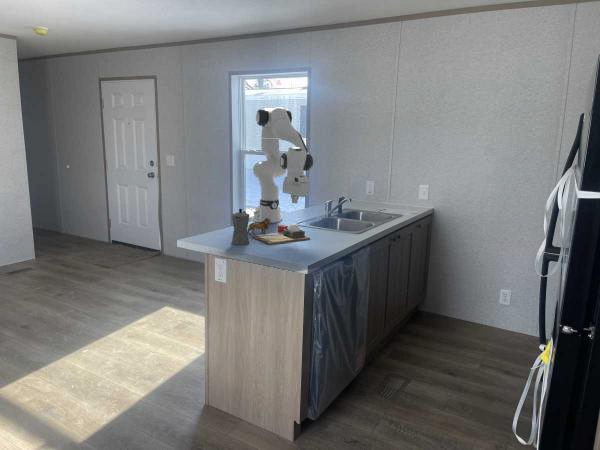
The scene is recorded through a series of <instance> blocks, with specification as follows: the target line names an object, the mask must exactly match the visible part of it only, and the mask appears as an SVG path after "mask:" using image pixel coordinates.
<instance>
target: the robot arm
mask: <svg viewBox="0 0 600 450" xmlns="http://www.w3.org/2000/svg"><path fill="white" fill-rule="evenodd" d="M292 120H293V116H292V112H291V111H290V110H289V109H286V108H283V107H278V106H277V107H275V108H259V109H258V110H257V111H256V115H255V121H256V124H257V125H258V126H260V127H261V137H260V139H261V141H260V142H261V149H260V150H261V152H262V153H263V154H264V155H265V157H266V160H261V161H258V162H256V163H255V164H253V168H252V173H253V175H254V176H255V177H256V178H257V179H258V180H257V181H259V184H260V197H261V199H259V205H258V206H257V207H256V208H255V209H254V211H253V216H250V219H251V220H253V222H255V223H261V222H262V221H264V219H266V218H269V219H270V221H271V223H273V224H275V223H281V221H282V220H283V218H281V216H282V215H281V208H280V207H279V205H280V200H279V186H278V185H277V184H276V183H275V181H274V179H275V178H276V179H277V178H280V177H282V176H285V175H286V176H285V177H284V179H283V182H282V183H283V184H282V190H281V191H282V193H283V194H287V195H290V198H291V204H298V202H299V201H298V200H299V198H300V197H301V198H307V197H308V196H309V191H310V190H309V189H310V187H309V182H310V179H309V177H308V176H306V175H305V174H304V173H305V172H308V171H309V170H311V168H312V167H313V165H314V158H313V156H312V155H311V153H310V151H309V150H308V148H307V146H306V143H305V142H304V139H303V137H302V135H301V133H300V132H299V131H298V130H296V129H295V127H294V126H293V125H292ZM280 140H281V141H284V142H288V143H291V144H293V145H294V146H291V147H289V148H288V150H287V152H284V153H282V154H281V153H280ZM271 223H270V224H271Z"/></svg>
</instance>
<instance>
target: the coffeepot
mask: <svg viewBox="0 0 600 450" xmlns="http://www.w3.org/2000/svg"><path fill="white" fill-rule="evenodd" d="M231 218H232V226H233V232H232V233H233V234H232V237H231V238H232V240H231V243H232V245H234V244H235V245H234V246H246V244H247V245H249V244H250V240H249V234H248V227H249V221H250V214H249V213H247V212H246V211H245V210H243V209H242V208H239V209H238V212H235V213H234V212H233V213H231Z"/></svg>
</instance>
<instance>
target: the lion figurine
mask: <svg viewBox="0 0 600 450" xmlns="http://www.w3.org/2000/svg"><path fill="white" fill-rule="evenodd" d="M270 226H271V221H270V219H269V218H266V219H264V221H262V222H251V223H250V224H248V227H247V232H248V235H251V233H252V236H254V235H257V234H255V229H256V230H261V235H262V234H266V230H267V229H269V227H270ZM250 231H251V233H250Z"/></svg>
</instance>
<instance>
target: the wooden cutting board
mask: <svg viewBox="0 0 600 450" xmlns="http://www.w3.org/2000/svg"><path fill="white" fill-rule="evenodd" d="M250 238H251V239H254V240H256V241H258V242H260V243H263V244H266V245H268V246H272V245H273V246H274V245H280V244H287V243H296V242H301V241H303V242H304V241H308V240H309V241H310V240H311V237H309V236H306V231H305V230H303V229H300V231H298V232H290V231H288V229H284V230H283V232H279V233H278V232H271V233H265V234H262V233H261V234H256V235H250Z"/></svg>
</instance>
